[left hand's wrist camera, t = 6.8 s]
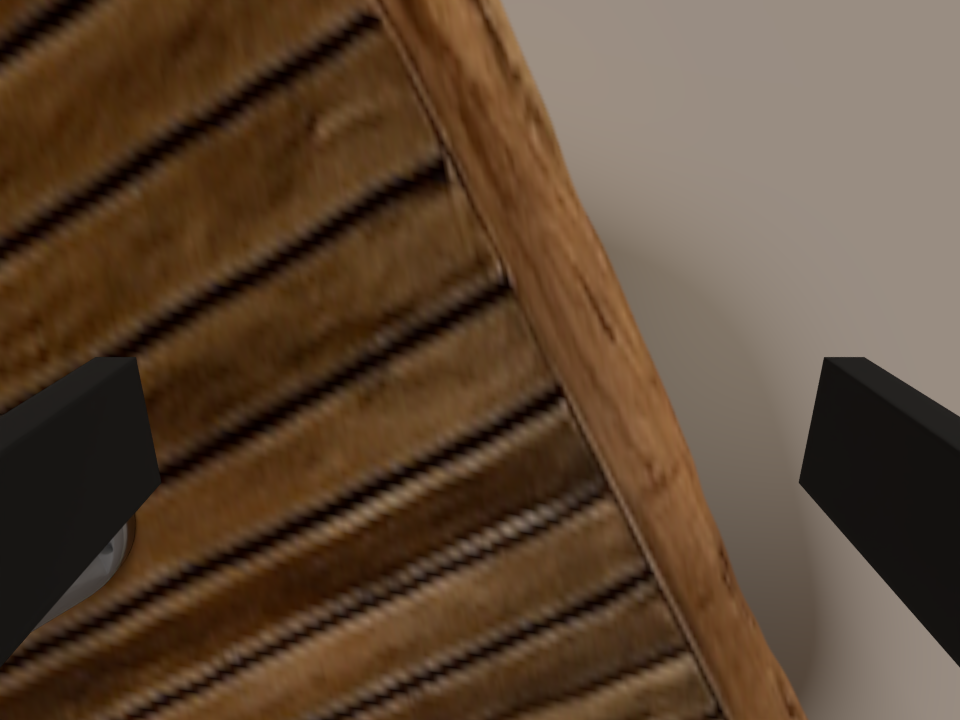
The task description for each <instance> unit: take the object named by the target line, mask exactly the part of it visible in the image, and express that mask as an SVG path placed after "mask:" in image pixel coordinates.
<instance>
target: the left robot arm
mask: <svg viewBox="0 0 960 720" xmlns="http://www.w3.org/2000/svg"><path fill="white" fill-rule="evenodd" d="M160 484H161V479H160V474H159V469H158V464H157V459H156V454H155V449H154V444H153V439H152V434H151V429H150V425H149V420H148V415H147V410H146V405H145V400H144V395H143V390H142V385H141V380H140V375H139V370H138V365H137V360H136V357H95V358H94V359H92V360H90V361H89V362H87V363H86V364H84V365H82V366H81V367H79V368H78V369H76V370H74V371H73V372H71V373H70V374H68V375H66V376H65V377H63V378H62V379H60V380H58V381H57V382H55V383H54V384H52V385H50V386H49V387H47V388H46V389H44V390H42V391H41V392H39V393H38V394H36V395H34V396H33V397H31V398H30V399H28V400H26V401H25V402H23V403H22V404H20V405H18V406H17V407H15V408H14V409H12V410H10V411H9V412H7V413H6V414H2V415H0V667H1V666H2V665H3V664H4V662H5V661H6V660H7V659H8V658H9V657H10V655H11V654H12V653H13V652H14V651H15V650H16V649H17V647H18V646H19V645H20V644H21V643H22V642H23V641H24V639H25V638H26V637H27V636H28V635H29V634H30V633H31V632H32V631H34V630H35V629H37V628H39V627H40V626H42V625H44V624H45V623H47V622H49V621H50V620H52V619H54V618H55V617H57V616H58V615H60V614H62V613H63V612H65V611H67V610H68V609H70V608H72V607H73V606H75V605H77V604H78V603H80V602H82V601H83V600H85V599H86V598H88V597H89V596H91V595H92V594H94V593H95V592H96V591H97V590H99V589H100V588H101V587H103V586H104V585H105V584H106V583H107V582H108V581H109V580H110V579H111V577H112V576H113V575H114V574H115V572H116V571H117V570H118V569H119V567H120V566H121V565H122V563H123V562H124V561H125V559H126V558H127V556H128V554H129V552H130V549H131V547H132V544H133V540H134V535H135V516H134V513H135V512H136V511H137V510H138V509H139V508H140V506H141V505H142V504H143V503H144V502H145V501H146V500H147V498H148V497H149V496H150V495H151V494H152V493H153V492H154V490H155V489H156V488H157V487H158V486H159V485H160ZM799 484H800V485H801V486H802V487H803V488H804V489H805V490H806V492H807V493H808V494H809V495H810V496H811V497H812V498H813V500H814V501H815V502H816V503H817V504H818V505H819V506H820V508H821V509H822V510H823V511H824V512H825V513H826V515H827V516H828V517H829V518H830V519H831V520H832V521H833V522H834V524H835V525H836V526H837V527H838V528H839V529H840V531H841V532H842V533H843V534H844V535H845V536H846V537H847V539H848V540H849V541H850V542H851V543H852V544H853V545H854V547H855V548H856V549H857V550H858V551H859V552H860V553H861V555H862V556H863V557H864V558H865V559H866V560H867V561H868V563H869V564H870V565H871V566H872V567H873V568H874V570H875V571H876V572H877V573H878V574H879V575H880V576H881V578H882V579H883V580H884V581H885V582H886V583H887V584H888V585H889V587H890V588H891V589H892V590H893V591H894V592H895V594H896V595H897V596H898V597H899V598H900V599H901V600H902V602H903V603H904V604H905V605H906V606H907V607H908V609H909V610H910V611H911V612H912V613H913V614H914V615H915V616H916V618H917V619H918V620H919V621H920V622H921V623H922V624H923V626H924V627H925V628H926V629H927V630H928V631H929V632H930V634H931V635H932V636H933V637H934V638H935V639H936V641H937V642H938V643H939V644H940V645H941V646H942V647H943V649H944V650H945V651H946V652H947V653H948V654H949V655H950V657H951V658H952V659H953V660H954V661H955V662H956V664H957V665H958V666H959V667H960V417H959V416H958V415H956V414H954V413H953V412H951V411H950V410H948V409H946V408H945V407H943V406H942V405H940V404H938V403H937V402H935V401H934V400H932V399H930V398H929V397H927V396H926V395H924V394H922V393H921V392H919V391H918V390H916V389H914V388H913V387H911V386H910V385H908V384H906V383H905V382H903V381H902V380H900V379H898V378H897V377H895V376H894V375H892V374H890V373H889V372H887V371H886V370H884V369H882V368H881V367H879V366H877V365H876V364H874V363H873V362H871V361H869V360H868V359H866V358H865V357H824V360H823V365H822V370H821V375H820V380H819V385H818V390H817V395H816V400H815V405H814V410H813V415H812V420H811V425H810V429H809V434H808V439H807V444H806V449H805V454H804V459H803V464H802V469H801V474H800V479H799Z"/></svg>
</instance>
